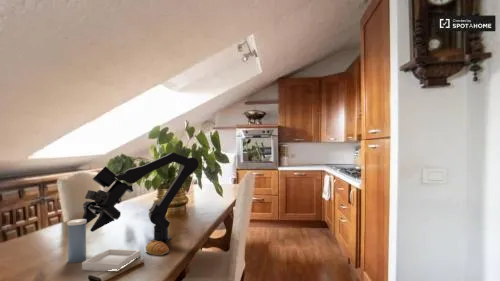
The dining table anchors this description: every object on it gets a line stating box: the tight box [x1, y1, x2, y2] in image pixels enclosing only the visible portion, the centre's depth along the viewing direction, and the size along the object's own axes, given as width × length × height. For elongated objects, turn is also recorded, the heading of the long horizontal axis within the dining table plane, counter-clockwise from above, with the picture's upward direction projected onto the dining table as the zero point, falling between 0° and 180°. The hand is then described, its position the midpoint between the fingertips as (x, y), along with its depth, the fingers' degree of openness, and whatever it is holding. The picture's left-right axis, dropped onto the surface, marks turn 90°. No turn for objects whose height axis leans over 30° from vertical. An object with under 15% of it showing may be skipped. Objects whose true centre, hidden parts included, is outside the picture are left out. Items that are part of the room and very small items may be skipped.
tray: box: [81, 248, 142, 272], centre depth 99 cm, size 13×13×2 cm
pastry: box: [145, 239, 170, 256], centre depth 109 cm, size 9×7×4 cm
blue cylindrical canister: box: [66, 218, 87, 264], centre depth 103 cm, size 6×6×14 cm
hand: (85, 229), depth 105 cm, fingers open, 9 cm apart
